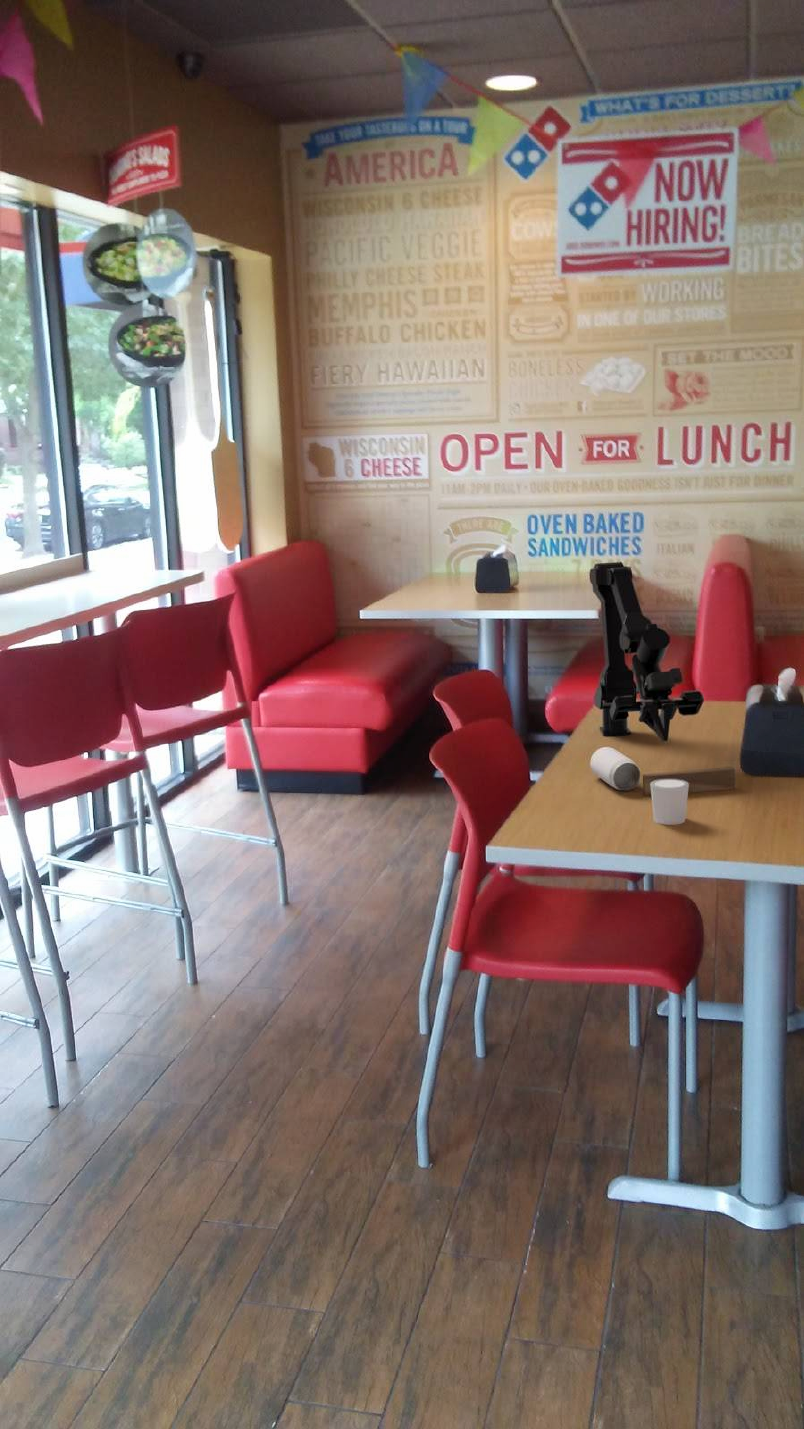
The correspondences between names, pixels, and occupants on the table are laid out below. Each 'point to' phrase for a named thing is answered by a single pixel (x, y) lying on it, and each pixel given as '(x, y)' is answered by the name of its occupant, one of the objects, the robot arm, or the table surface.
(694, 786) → the rail
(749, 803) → the table surface
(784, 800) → the table surface
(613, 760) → the can
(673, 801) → the white cup
